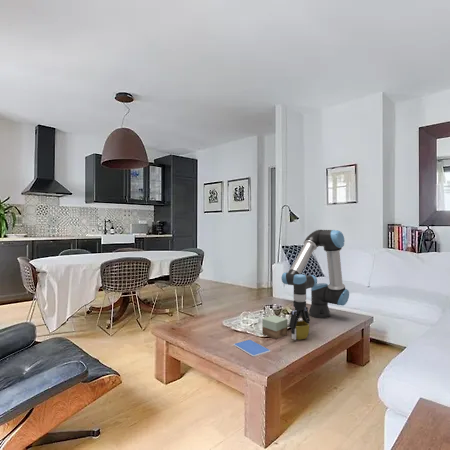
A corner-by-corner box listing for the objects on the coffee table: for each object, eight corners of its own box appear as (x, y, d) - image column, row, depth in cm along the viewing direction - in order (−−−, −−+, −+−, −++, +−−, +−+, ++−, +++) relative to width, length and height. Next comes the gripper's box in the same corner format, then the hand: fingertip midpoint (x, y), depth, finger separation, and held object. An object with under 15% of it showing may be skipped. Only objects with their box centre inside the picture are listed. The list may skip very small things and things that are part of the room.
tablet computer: (232, 345, 187) (232, 343, 187) (250, 341, 194) (250, 338, 194) (253, 358, 171) (253, 355, 171) (271, 352, 178) (271, 350, 178)
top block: (273, 322, 210) (273, 315, 210) (287, 326, 202) (287, 319, 202) (262, 326, 203) (262, 318, 203) (276, 331, 195) (276, 323, 195)
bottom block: (273, 330, 210) (273, 322, 210) (287, 334, 203) (287, 326, 202) (262, 334, 203) (262, 326, 203) (276, 339, 195) (276, 331, 195)
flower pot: (295, 341, 191) (296, 326, 191) (290, 336, 200) (290, 321, 199) (309, 340, 193) (309, 325, 192) (303, 334, 201) (303, 320, 201)
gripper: (305, 295, 206) (305, 329, 207) (282, 302, 190) (282, 339, 191) (315, 298, 200) (315, 332, 201) (293, 305, 184) (293, 343, 185)
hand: (299, 336), depth 196 cm, fingers closed on flower pot, 11 cm apart
